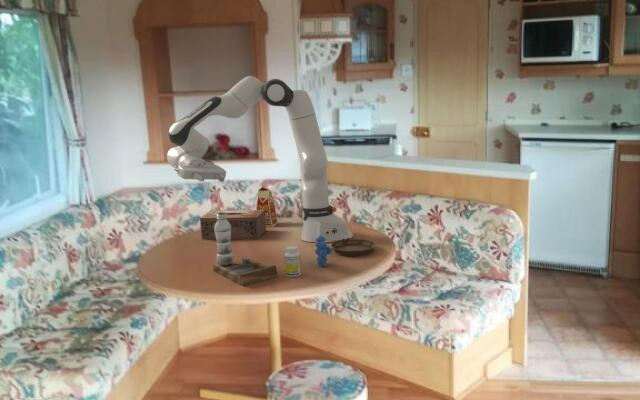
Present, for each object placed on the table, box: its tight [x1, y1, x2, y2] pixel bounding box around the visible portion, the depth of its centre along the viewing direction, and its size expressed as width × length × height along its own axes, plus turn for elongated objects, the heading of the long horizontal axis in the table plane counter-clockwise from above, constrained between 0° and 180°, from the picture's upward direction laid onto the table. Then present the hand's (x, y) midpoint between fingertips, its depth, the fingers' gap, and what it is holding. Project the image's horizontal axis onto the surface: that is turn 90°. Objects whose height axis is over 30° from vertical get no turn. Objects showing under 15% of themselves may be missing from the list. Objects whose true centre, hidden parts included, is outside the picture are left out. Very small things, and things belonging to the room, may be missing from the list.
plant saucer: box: [330, 238, 377, 257], centre depth 249 cm, size 18×18×3 cm
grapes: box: [314, 236, 334, 267], centre depth 231 cm, size 12×7×12 cm, turn 7°
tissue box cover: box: [199, 209, 267, 240], centre depth 282 cm, size 26×14×10 cm, turn 82°
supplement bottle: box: [284, 245, 302, 278], centre depth 222 cm, size 6×6×10 cm
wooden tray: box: [212, 256, 278, 287], centre depth 227 cm, size 23×14×4 cm, turn 36°
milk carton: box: [256, 184, 278, 228], centre depth 297 cm, size 9×9×20 cm
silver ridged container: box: [214, 213, 234, 266], centre depth 237 cm, size 6×7×20 cm
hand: (212, 179), depth 243 cm, fingers open, 8 cm apart
